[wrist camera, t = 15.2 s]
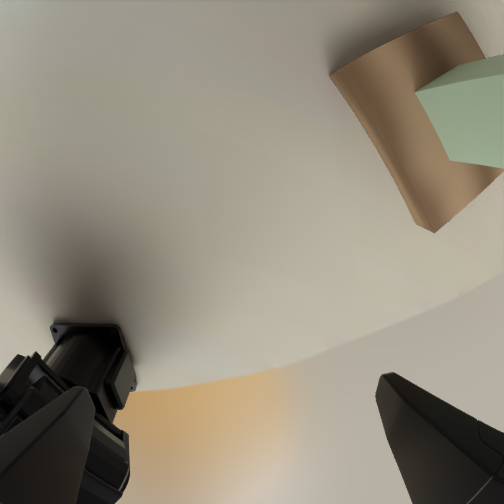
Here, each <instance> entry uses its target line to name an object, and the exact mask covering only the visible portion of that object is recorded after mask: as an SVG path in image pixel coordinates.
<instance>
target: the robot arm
mask: <svg viewBox="0 0 504 504" xmlns="http://www.w3.org/2000/svg"><path fill="white" fill-rule="evenodd" d="M55 328H56V329H57V330H56V329H55ZM50 330H51V333H52V336H53V339H54V341H55V345H54V346H53V347H52V349H51V350H50V351H49V353H48V354H47V355H46V356H45V358H44V359H43V360H42V359H41V356H40V355H39V354H38V353H37V352H36V351H35V352H34V353H33V354H32V355H31V356H29V355H28V356H26V357H24V356H22V355H19V354H17V355H16V356H15V358H14V359H13V360H12V361H11V362H10V363H9V365H8V366H7V367H6V368H5V370H4V371H3V372H2V373H1V375H0V504H115V503H116V502H117V501H118V500H119V499H120V498H121V496H122V494H123V491H124V490H125V488H126V486H127V484H128V481H129V477H130V462H129V435H128V434H127V433H126V432H125V431H123V430H120V429H118V428H117V427H116V426H115V425H114V424H113V421H114V418H115V415H116V413H117V410H122V409H123V408H124V406H125V403H126V401H127V398H128V395H129V392H133V391H135V390H136V387H137V384H136V381H135V376H136V375H135V371H134V368H133V365H132V362H131V358H130V355H129V352H128V351H127V350H126V348H125V345H124V341H123V338H122V334H121V330H120V328H119V327H118V326H117V325H114V324H77V323H53V324H52V325H51V327H50ZM112 330H114V331H115V332H116V333H114V332H113V331H112ZM375 397H376V402H377V406H378V409H379V413H380V416H381V419H382V423H383V427H384V430H385V434H386V437H387V440H388V443H389V445H390V448H391V450H392V453H393V455H394V458H395V460H396V462H397V465H398V467H399V470H400V472H401V475H402V478H403V480H404V483H405V485H406V488H407V490H408V493H409V495H410V498H411V501H412V503H413V504H504V433H503V432H501V431H499V430H496V429H495V428H493V427H491V426H489V425H487V424H485V423H483V422H481V421H479V420H477V419H475V418H474V417H472V416H470V415H468V414H466V413H465V412H463V411H461V410H459V409H457V408H456V407H454V406H452V405H450V404H449V403H447V402H445V401H443V400H441V399H439V398H438V397H436V396H434V395H432V394H431V393H429V392H427V391H426V390H424V389H422V388H420V387H418V386H417V385H415V384H413V383H411V382H410V381H408V380H406V379H405V378H403V377H401V376H400V375H398V374H396V373H394V372H391V373H386V374H382V375H381V376H380V379H379V383H378V387H377V390H376V396H375Z"/></svg>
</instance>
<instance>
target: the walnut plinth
mask: <svg viewBox="0 0 504 504" xmlns="http://www.w3.org/2000/svg"><path fill="white" fill-rule="evenodd" d="M481 59H485V56H484V54H483V53H482V51H481V49H480V47H479V45H478V44H477V42H476V40H475V39H474V37H473V35H472V34H471V32H470V30H469V29H468V27H467V26H466V24H465V22H464V21H463V19H462V18H461V16H460V15H459V13H458V12H455V13H452V14H450V15H447V16H445V17H442V18H440V19H438V20H435V21H433V22H431V23H428V24H426V25H424V26H422V27H419V28H417V29H415V30H413V31H411V32H408V33H406V34H404V35H402V36H400V37H398V38H396V39H394V40H392V41H390V42H388V43H386V44H384V45H382V46H380V47H378V48H376V49H374V50H372V51H370V52H368V53H366V54H364V55H363V56H361V57H359V58H357V59H355V60H353V61H352V62H350V63H348V64H346V65H344V66H343V67H341V68H340V69H338V70H337V71H335V72H334V73H333V74H331V75H330V76H329V77H330V78H331V80H332V81H333V83H334V84H335V85H336V87H337V88H338V90H339V91H340V92H341V94H342V95H343V97H344V98H345V100H346V101H347V103H348V104H349V106H350V107H351V109H352V110H353V112H354V113H355V115H356V116H357V118H358V119H359V121H360V123H361V124H362V126H363V127H364V129H365V131H366V132H367V134H368V135H369V137H370V139H371V140H372V142H373V144H374V145H375V147H376V149H377V150H378V152H379V154H380V156H381V157H382V159H383V161H384V163H385V164H386V166H387V168H388V170H389V172H390V174H391V175H392V177H393V179H394V181H395V183H396V185H397V187H398V189H399V191H400V192H401V194H402V196H403V198H404V200H405V202H406V204H407V206H408V208H409V211H410V213H411V215H412V217H413V219H414V221H415V223H416V224H417V225H419V226H421V227H423V228H425V229H427V230H429V231H431V232H433V233H435V232H436V231H438V230H439V229H440V228H441V227H442V226H444V225H445V224H446V223H447V222H448V221H449V220H451V219H452V218H453V217H454V216H455V215H456V214H458V213H459V212H460V211H461V210H462V209H463V208H464V207H466V206H467V205H468V204H469V203H470V202H471V201H472V200H473V199H474V198H476V197H477V196H478V195H479V194H480V193H481V192H482V191H483V190H484V189H485V188H486V187H487V186H489V185H490V184H491V183H492V182H493V181H494V180H495V179H496V178H497V177H498V176H499V175H500V174H501V173H502V172H503V171H504V169H503V168H497V167H491V166H485V165H478V164H471V163H464V162H457V161H450V160H449V158H448V155H447V153H446V151H445V149H444V147H443V145H442V143H441V140H440V138H439V136H438V134H437V132H436V130H435V128H434V126H433V125H432V123H431V121H430V119H429V117H428V115H427V113H426V111H425V110H424V108H423V106H422V104H421V102H420V101H419V99H418V97H417V95H416V94H415V92H416V91H418V90H419V89H421V88H422V87H424V86H426V85H427V84H429V83H430V82H432V81H434V80H435V79H437V78H438V77H440V76H442V75H443V74H445V73H447V72H448V71H450V70H452V69H453V68H455V67H457V66H458V65H462V64H465V63H469V62H473V61H477V60H481Z"/></svg>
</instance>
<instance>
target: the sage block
mask: <svg viewBox="0 0 504 504" xmlns="http://www.w3.org/2000/svg"><path fill="white" fill-rule="evenodd" d="M415 94H416V95H417V97H418V99H419V101H420V102H421V104H422V106H423V108H424V110H425V111H426V113H427V115H428V117H429V119H430V121H431V123H432V125H433V126H434V128H435V130H436V132H437V134H438V136H439V138H440V140H441V143H442V145H443V147H444V149H445V151H446V153H447V155H448V158H449V160H450V161H457V162H464V163H471V164H478V165H485V166H491V167H497V168H503V169H504V54H503V55H498V56H494V57H490V58H485V59H481V60H477V61H473V62H469V63H465V64H462V65H458V66H457V67H455V68H453V69H452V70H450V71H448V72H447V73H445V74H443V75H442V76H440V77H438V78H437V79H435V80H434V81H432V82H430V83H429V84H427V85H426V86H424V87H422V88H421V89H419V90H418V91H416V92H415Z"/></svg>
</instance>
